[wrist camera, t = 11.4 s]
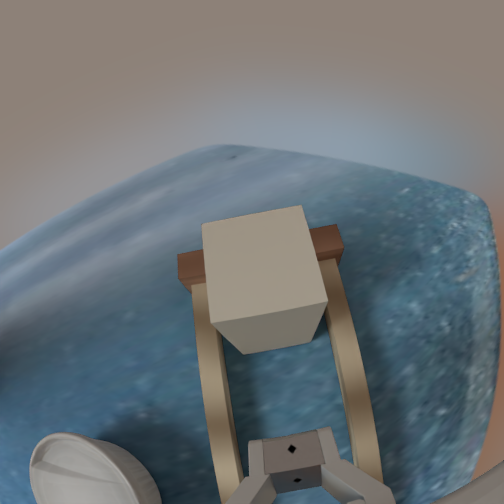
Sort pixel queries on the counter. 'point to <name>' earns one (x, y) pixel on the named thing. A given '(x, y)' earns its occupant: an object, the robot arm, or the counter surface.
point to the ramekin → (88, 473)
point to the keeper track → (343, 350)
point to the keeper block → (263, 279)
